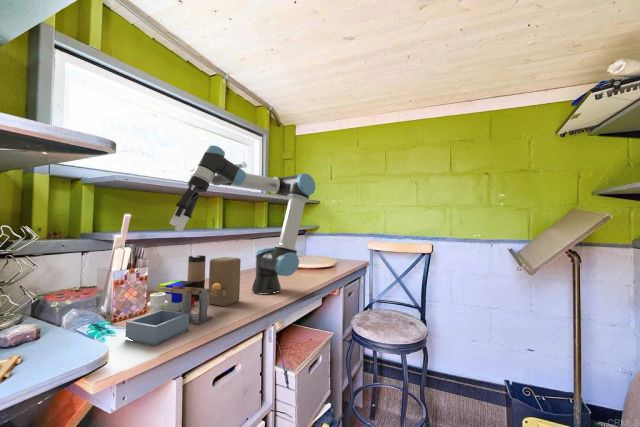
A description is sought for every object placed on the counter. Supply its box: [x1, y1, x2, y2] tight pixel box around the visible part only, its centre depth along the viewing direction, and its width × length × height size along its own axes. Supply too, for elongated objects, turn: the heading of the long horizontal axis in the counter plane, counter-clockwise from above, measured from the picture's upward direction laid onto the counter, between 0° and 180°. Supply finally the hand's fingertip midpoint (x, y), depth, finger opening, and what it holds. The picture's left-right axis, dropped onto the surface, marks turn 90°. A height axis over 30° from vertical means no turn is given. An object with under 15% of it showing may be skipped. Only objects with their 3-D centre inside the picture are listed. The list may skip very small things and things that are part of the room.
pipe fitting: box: [146, 292, 168, 313], centre depth 103 cm, size 6×7×8 cm
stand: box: [181, 288, 214, 326], centre depth 99 cm, size 7×11×11 cm, turn 72°
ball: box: [212, 283, 221, 290], centre depth 110 cm, size 4×4×4 cm
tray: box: [125, 310, 190, 347], centre depth 84 cm, size 13×12×6 cm
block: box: [208, 256, 242, 307], centre depth 121 cm, size 10×10×20 cm
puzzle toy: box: [157, 279, 196, 312], centre depth 114 cm, size 10×10×10 cm
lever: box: [154, 286, 227, 296], centre depth 103 cm, size 22×14×3 cm, turn 162°
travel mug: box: [186, 255, 206, 301], centre depth 127 cm, size 8×8×20 cm
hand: (175, 228), depth 101 cm, fingers open, 13 cm apart
